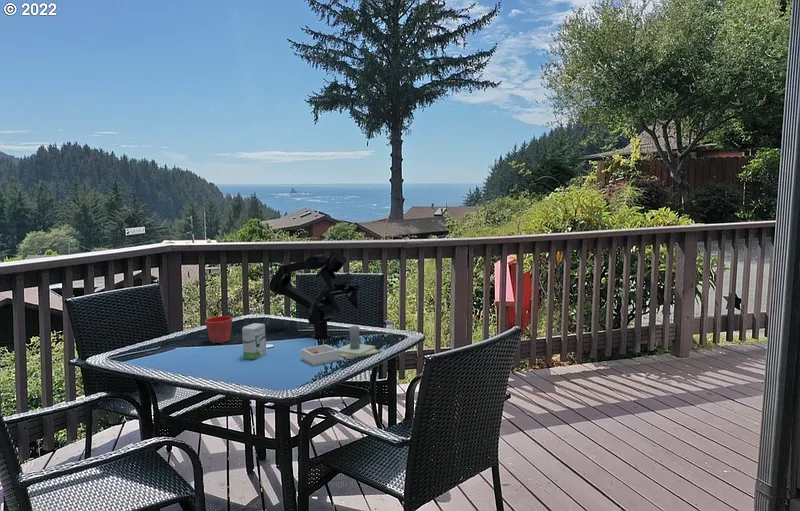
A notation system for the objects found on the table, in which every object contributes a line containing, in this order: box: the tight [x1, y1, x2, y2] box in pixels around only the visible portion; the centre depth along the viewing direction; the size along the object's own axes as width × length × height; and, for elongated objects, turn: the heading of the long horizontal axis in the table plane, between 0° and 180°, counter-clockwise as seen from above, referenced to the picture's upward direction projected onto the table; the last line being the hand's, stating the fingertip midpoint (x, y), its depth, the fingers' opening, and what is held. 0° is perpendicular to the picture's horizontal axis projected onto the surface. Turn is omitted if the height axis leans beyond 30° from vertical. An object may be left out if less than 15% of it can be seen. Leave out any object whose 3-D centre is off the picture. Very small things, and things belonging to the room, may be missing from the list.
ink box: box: [241, 322, 267, 361], centre depth 219 cm, size 9×5×12 cm, turn 162°
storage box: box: [300, 344, 340, 367], centre depth 212 cm, size 10×10×4 cm
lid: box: [336, 325, 376, 356], centre depth 221 cm, size 11×11×9 cm
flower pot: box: [204, 315, 233, 342], centre depth 241 cm, size 11×11×10 cm
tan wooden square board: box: [336, 343, 382, 360], centre depth 221 cm, size 14×14×1 cm
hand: (348, 310), depth 232 cm, fingers open, 9 cm apart
